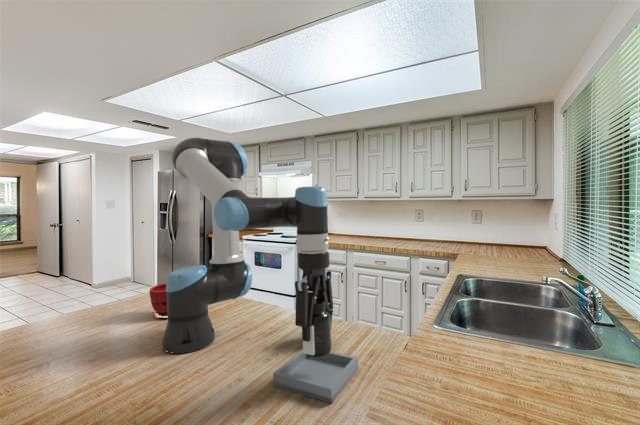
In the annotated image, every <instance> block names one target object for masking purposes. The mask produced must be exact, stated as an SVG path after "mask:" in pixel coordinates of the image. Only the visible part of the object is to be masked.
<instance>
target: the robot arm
mask: <svg viewBox="0 0 640 425" xmlns="http://www.w3.org/2000/svg"><path fill="white" fill-rule="evenodd" d="M171 155H172V156H171V162H172V165H173V167H174V169H175V171H176V172H177V173H178V174H179V175H180V176H181V177H183V178H185V179H187V180H188V179H189V181H190V182H191V183H192V184H193V185H194V186H195V187H196V188H197V189H198V190H199V192H200V193H202V195H203V196H204V197H205V198H206V199H207V201H209V202H210V203H211V220H212V223H211V224H212V225H211V226H212V242H213V244H212V246H213V256H212V258H211V259H210V260H209V262H208V264H209V267H207V266H206V265H204V264H195V265H188V266H184V267H181V268H178V269H176V270H175V269H174V270H172V271H171V272H170V273H169V274H168V275H167V277H166V292H167V313H168V319H167V323H166V327H165V331H164V334H163V337H162V341H161V347H163V349H164V350H166V351H168V352H173V353H182V354H184V353H183V352H189V353H191V352H190V351H193V352H195V351H194V350H197V349H200V348H202V347H205V346H207V345H209V344H210V343H211V344H213V343H214V342H213V341H215V340H216V332H215V329H214V326H213V324H212V322H211V319H210V316H209V305H213V304H217V303H222V302H224V301H229V300H235V299H237V298H241V297H244V296H246V295H247V293H249V291H250V290H251V287H252V285H253V272H252V270H251V266H250V265H249V263H247V262H246V260H245V257H244V256H242V254H241V252H240V251H241V250H240V231H244V230H245V231H246V230H253V229H269V228H280V227H281V228H282V227H296V246H297V248H296V250H297V251H298V253H297V266H298V268H299V269H300V270H301V271H302V276H301V280H300V281H297V280H296V281H295V282H294V289H295V326H297V327H301V336H302V337H301V338H302V350H303V353H305V354H309V355H314V354H315V341H314V326H313V325H312V318H313V310H314V302H315V298H318V299H324V300H325V304H326V309H325V310H326V311H327V312H328V313H329V314H332V315H333V313H334V310H330V309H334V301H333V300H334V299H333V291H332V290H333V288H332V271H331V270H326V269H328V268H329V267H330V252H328V251H327V250H329V247H330V246H329V242H330V238H329V229H328V228H329V225H328V223H329V222H328V221H329V220H328V196H327V191H326V188H324V187H323V186H319V185H318V186H300V187H297V188H296V189H295V192H294V196H291V197H288V196H287V197H286V196H285V197H251V196H248V195H247V194H246V193H245V192H243V191H242V190H241V189H240V188H239V187H238V185H239V183H241V181H242V177H243V176H245V174H246V173H247V169H248V157H247V154H246V152H245V149H244V148H243V147H242V146H241V145H240V144H238V143H234V142H231V141H227V140H225V141H224V140H215V139H210V138H202V137H189V138H186V139H184V140H182V141H181V142H179V143H178V144H177V145H176V146H175V148H174V149H173V151H172V154H171ZM214 339H215V340H214ZM212 342H213V343H212ZM211 344H210V345H211ZM210 345H209V346H210ZM207 347H208V346H207ZM205 348H206V347H205ZM163 349H162V350H163ZM200 350H201V349H200ZM197 351H198V350H197Z"/></svg>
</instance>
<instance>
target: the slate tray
mask: <svg viewBox="0 0 640 425" xmlns="http://www.w3.org/2000/svg"><path fill="white" fill-rule="evenodd" d="M358 371H359V357H357V356H353V355H349V354H344V353H339V352H335V351H332V350H331V351H330V353H329V354H327V355H325V356H322V357H311V356H308V355H306V354H305V353H303V349H302V350H300V351H299V352H298V353H296V354H295V355H294V356H293V357H292V358H290V359H289V360H287V362H285V363H284V364H283V365H281V366H280V367H279V368H278V369H276V370H275V371H274V372H273V373H272V377H273V378H272V380H273V386H274V387H275V388H276V387H277V388H279V389H282V390H286V391H289V392H292V393H295V394H299V395H303V396H304V397H309V398H311V399H315V400H319V401H322V402H325V403H328V404H333V403H334V402H335V401H336V399H337V398H338V397H339V395H340V394H341V393H342V391H343V390H344V389H345V387H346V386H347V385H348V384H349V382H350V381H351V380H352V378H353V377H354V376H355V374H357V372H358Z"/></svg>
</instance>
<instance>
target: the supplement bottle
mask: <svg viewBox="0 0 640 425" xmlns="http://www.w3.org/2000/svg"><path fill="white" fill-rule="evenodd" d="M325 309H326V304H325V300H324V299H318V298H316V297H315V302H314V310H313V318H312V325H313V326H314V341H315V354H314V355H309V354H306V355H308V356H311V357H322V356H325V355H327V354H329V353H330V351H331V352H332V324H331V323H330V314H329V313H328V312H327V311H326V310H325Z"/></svg>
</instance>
